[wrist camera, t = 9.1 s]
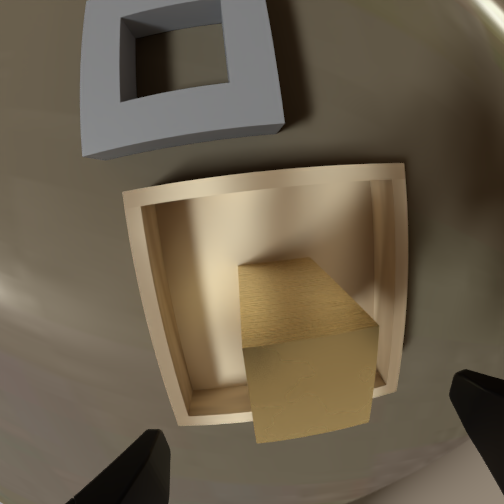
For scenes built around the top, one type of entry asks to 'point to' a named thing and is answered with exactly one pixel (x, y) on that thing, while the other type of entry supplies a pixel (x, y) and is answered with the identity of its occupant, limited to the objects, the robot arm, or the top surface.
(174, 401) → the tray
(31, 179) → the top surface
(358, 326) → the pin
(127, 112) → the frame
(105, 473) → the robot arm
